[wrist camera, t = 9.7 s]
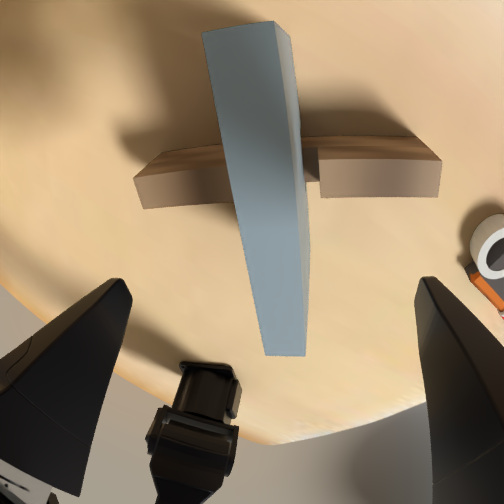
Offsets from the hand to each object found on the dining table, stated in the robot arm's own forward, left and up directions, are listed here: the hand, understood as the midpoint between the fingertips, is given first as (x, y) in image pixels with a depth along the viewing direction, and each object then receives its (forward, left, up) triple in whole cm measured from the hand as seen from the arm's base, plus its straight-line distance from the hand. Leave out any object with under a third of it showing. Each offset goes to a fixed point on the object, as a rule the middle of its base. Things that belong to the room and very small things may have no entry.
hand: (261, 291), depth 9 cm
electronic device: (+20, -10, -12) cm, 25 cm away
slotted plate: (0, 0, -12) cm, 12 cm away
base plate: (0, 0, -12) cm, 12 cm away
